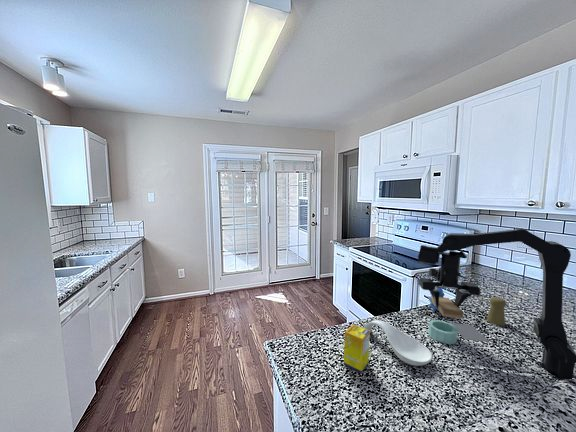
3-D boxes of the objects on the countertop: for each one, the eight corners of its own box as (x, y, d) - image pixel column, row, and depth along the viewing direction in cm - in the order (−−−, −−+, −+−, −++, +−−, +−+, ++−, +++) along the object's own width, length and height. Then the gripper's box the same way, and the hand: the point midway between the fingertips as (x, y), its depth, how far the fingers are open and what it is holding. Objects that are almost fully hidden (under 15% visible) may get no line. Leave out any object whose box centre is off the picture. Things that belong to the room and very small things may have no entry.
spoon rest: (438, 363, 77) (440, 341, 77) (419, 378, 71) (421, 355, 70) (374, 328, 97) (375, 311, 96) (355, 338, 90) (355, 319, 90)
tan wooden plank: (462, 318, 84) (463, 312, 84) (443, 316, 86) (443, 310, 85) (447, 303, 96) (448, 298, 96) (431, 301, 97) (431, 296, 97)
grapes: (440, 318, 106) (442, 291, 105) (424, 311, 111) (426, 286, 110) (451, 311, 113) (453, 286, 112) (435, 305, 118) (437, 281, 117)
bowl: (461, 346, 86) (462, 334, 85) (433, 343, 87) (434, 331, 87) (450, 332, 94) (451, 321, 94) (425, 329, 96) (425, 319, 96)
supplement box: (351, 355, 80) (352, 323, 79) (368, 363, 76) (370, 330, 75) (342, 364, 76) (344, 331, 75) (361, 374, 72) (363, 338, 71)
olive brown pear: (509, 328, 99) (511, 302, 98) (492, 326, 100) (494, 300, 99) (499, 320, 105) (501, 296, 104) (483, 319, 106) (485, 294, 105)
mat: (489, 343, 88) (489, 342, 88) (464, 340, 90) (464, 339, 89) (471, 326, 100) (471, 324, 100) (449, 323, 101) (450, 322, 101)
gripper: (467, 263, 95) (463, 302, 96) (415, 259, 99) (412, 296, 100) (483, 272, 84) (478, 315, 86) (424, 267, 88) (421, 308, 90)
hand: (445, 308), depth 91 cm, fingers closed on tan wooden plank, 6 cm apart
